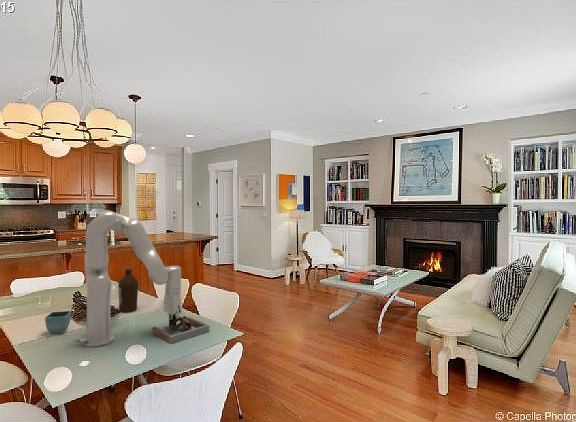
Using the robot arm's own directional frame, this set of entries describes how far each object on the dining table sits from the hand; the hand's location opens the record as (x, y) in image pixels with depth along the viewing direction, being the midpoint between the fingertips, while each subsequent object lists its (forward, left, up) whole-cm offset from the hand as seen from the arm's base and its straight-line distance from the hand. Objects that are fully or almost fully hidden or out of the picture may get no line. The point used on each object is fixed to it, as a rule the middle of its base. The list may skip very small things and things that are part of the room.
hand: (172, 326), depth 176 cm
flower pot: (-41, +34, -1) cm, 53 cm away
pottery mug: (+2, -6, -1) cm, 7 cm away
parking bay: (0, -7, -1) cm, 7 cm away
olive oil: (-3, +44, -1) cm, 44 cm away
